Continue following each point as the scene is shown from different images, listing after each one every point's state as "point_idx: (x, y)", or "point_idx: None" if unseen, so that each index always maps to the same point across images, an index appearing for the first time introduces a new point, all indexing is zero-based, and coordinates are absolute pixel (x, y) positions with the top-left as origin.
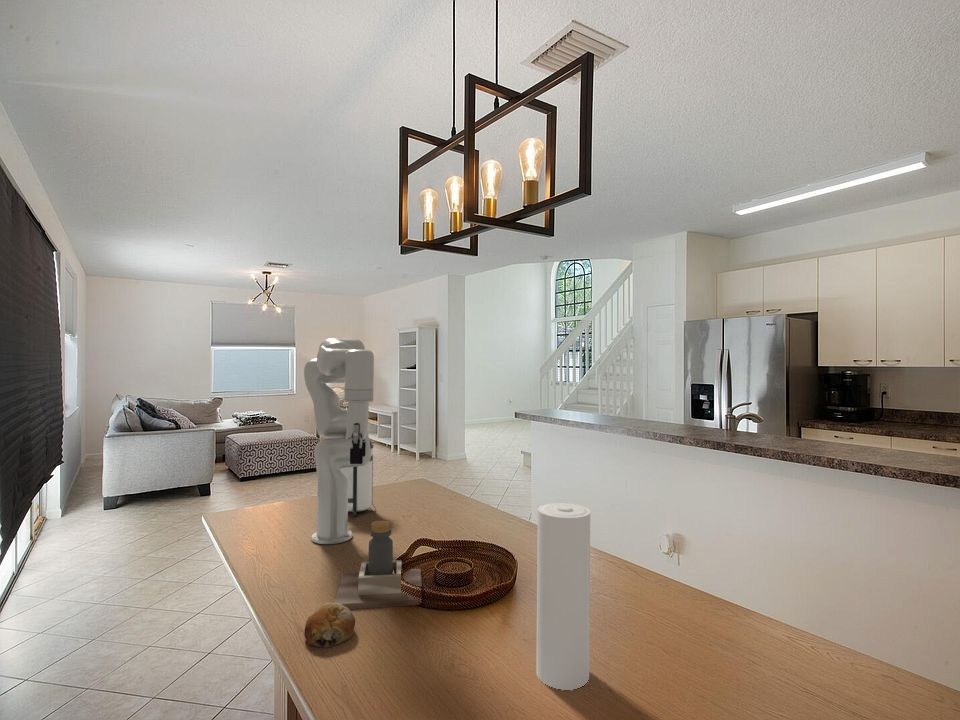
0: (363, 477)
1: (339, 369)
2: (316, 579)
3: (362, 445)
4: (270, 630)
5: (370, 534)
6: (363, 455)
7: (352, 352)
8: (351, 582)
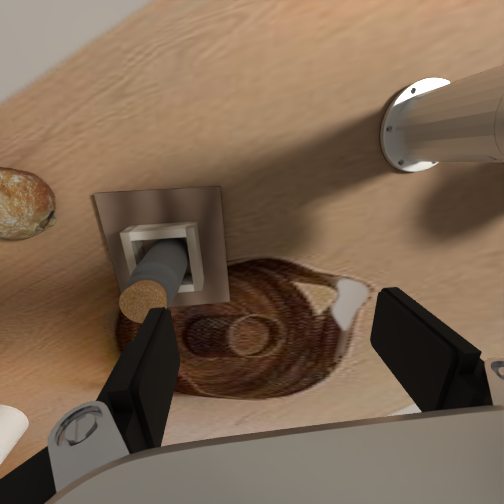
0: None
1: None
2: (211, 139)
3: (417, 388)
4: (11, 101)
5: (142, 272)
6: (373, 339)
7: None
8: (178, 207)
